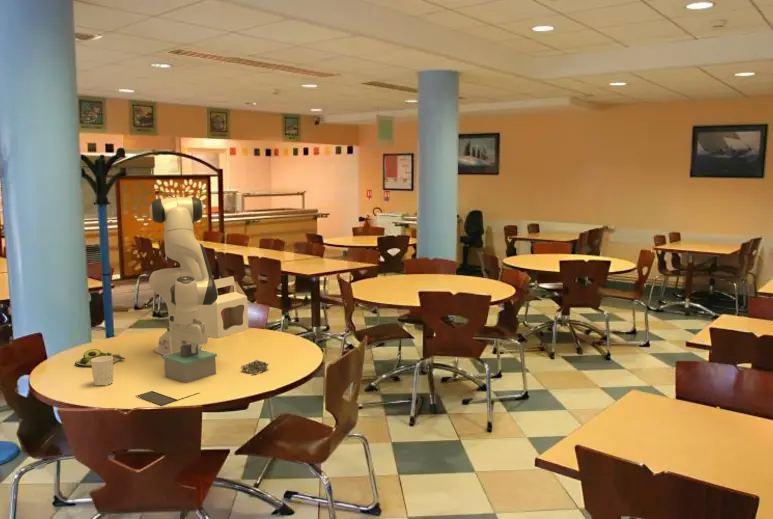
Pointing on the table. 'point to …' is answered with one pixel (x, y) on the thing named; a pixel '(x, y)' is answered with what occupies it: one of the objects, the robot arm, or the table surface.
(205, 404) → the table surface
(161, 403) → the rubber mat
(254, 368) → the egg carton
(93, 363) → the tan cup
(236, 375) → the table surface
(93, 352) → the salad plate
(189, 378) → the storage box
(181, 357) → the lid
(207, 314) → the gable box
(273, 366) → the table surface
